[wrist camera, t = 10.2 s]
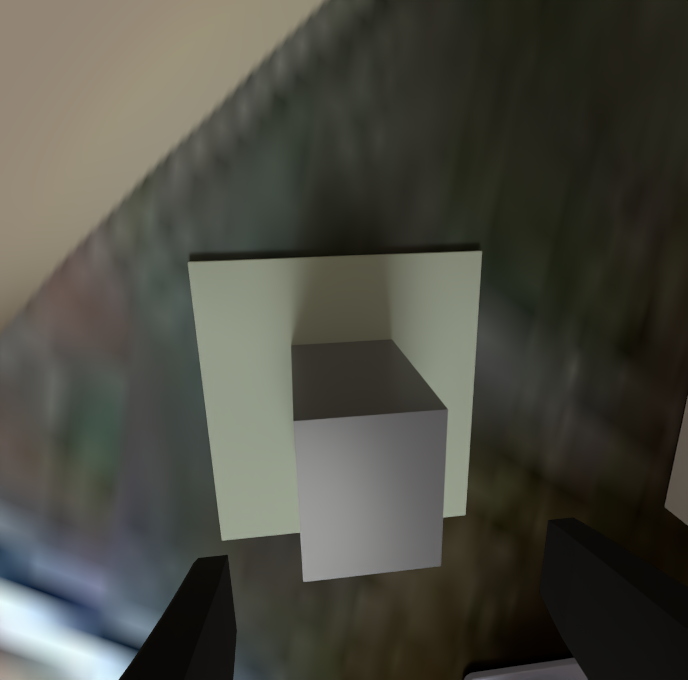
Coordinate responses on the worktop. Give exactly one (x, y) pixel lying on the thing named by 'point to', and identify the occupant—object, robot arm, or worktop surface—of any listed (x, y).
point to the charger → (366, 460)
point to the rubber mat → (315, 328)
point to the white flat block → (680, 475)
